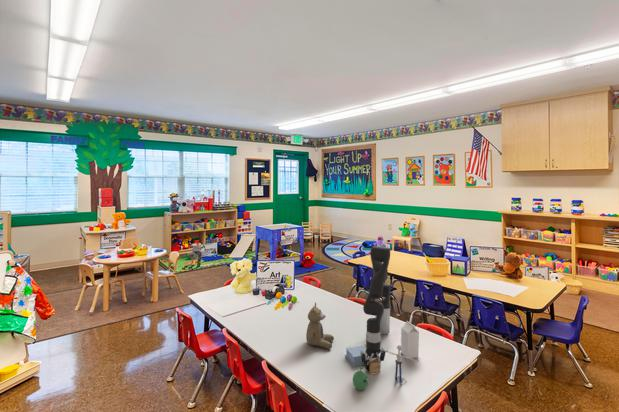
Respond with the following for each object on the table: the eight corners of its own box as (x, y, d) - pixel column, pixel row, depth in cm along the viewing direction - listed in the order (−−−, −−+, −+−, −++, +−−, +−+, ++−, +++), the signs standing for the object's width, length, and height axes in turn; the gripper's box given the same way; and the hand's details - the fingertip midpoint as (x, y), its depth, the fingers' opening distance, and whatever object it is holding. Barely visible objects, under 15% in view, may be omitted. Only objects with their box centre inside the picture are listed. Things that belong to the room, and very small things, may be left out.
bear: (330, 354, 184) (331, 312, 183) (303, 351, 188) (304, 310, 186) (334, 337, 205) (335, 300, 203) (310, 335, 208) (311, 297, 206)
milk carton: (407, 359, 179) (408, 326, 178) (400, 352, 186) (401, 321, 185) (418, 357, 181) (419, 325, 180) (411, 351, 188) (412, 319, 187)
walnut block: (365, 368, 170) (366, 358, 169) (375, 366, 171) (375, 357, 171) (370, 374, 164) (370, 364, 164) (380, 372, 166) (380, 362, 166)
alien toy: (367, 395, 148) (367, 374, 147) (351, 391, 151) (351, 371, 150) (369, 386, 154) (370, 366, 154) (354, 382, 157) (354, 363, 157)
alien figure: (421, 385, 155) (422, 347, 154) (418, 391, 150) (419, 352, 149) (382, 372, 166) (383, 336, 165) (378, 377, 162) (379, 340, 161)
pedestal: (344, 356, 182) (345, 347, 182) (362, 353, 185) (362, 344, 185) (353, 366, 171) (353, 357, 171) (371, 363, 175) (371, 354, 174)
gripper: (381, 333, 172) (381, 363, 173) (357, 337, 168) (357, 368, 169) (389, 340, 165) (388, 371, 166) (364, 344, 161) (363, 376, 162)
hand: (372, 369), depth 168 cm, fingers closed on walnut block, 5 cm apart
